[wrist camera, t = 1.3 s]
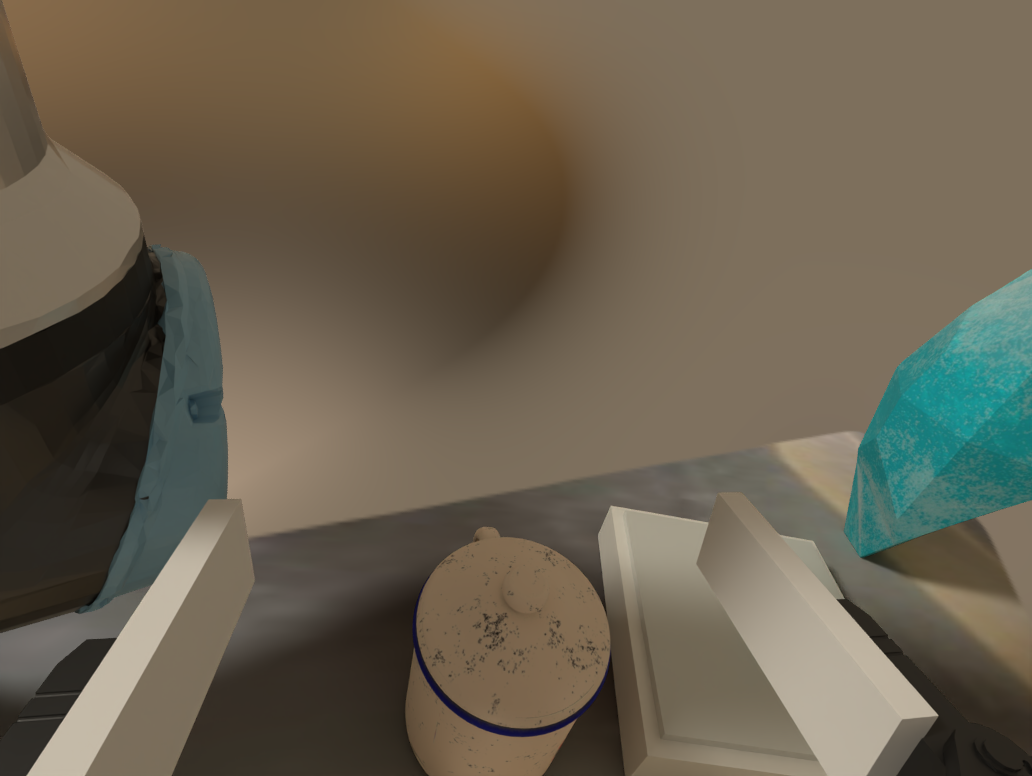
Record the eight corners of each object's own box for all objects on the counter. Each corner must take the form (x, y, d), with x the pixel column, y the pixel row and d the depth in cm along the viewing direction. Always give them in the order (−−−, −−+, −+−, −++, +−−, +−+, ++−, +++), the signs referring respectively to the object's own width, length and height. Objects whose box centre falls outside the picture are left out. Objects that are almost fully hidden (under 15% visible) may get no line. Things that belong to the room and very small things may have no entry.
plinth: (625, 782, 26) (652, 750, 24) (598, 535, 39) (613, 500, 37) (911, 820, 27) (961, 793, 25) (791, 568, 41) (817, 535, 38)
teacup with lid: (585, 796, 25) (668, 684, 19) (399, 827, 23) (422, 710, 17) (535, 583, 35) (579, 459, 28) (400, 589, 33) (415, 456, 26)
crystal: (980, 586, 43) (1383, 247, 26) (884, 631, 37) (1323, 233, 21) (857, 484, 52) (1102, 180, 35) (763, 507, 46) (1004, 157, 29)
